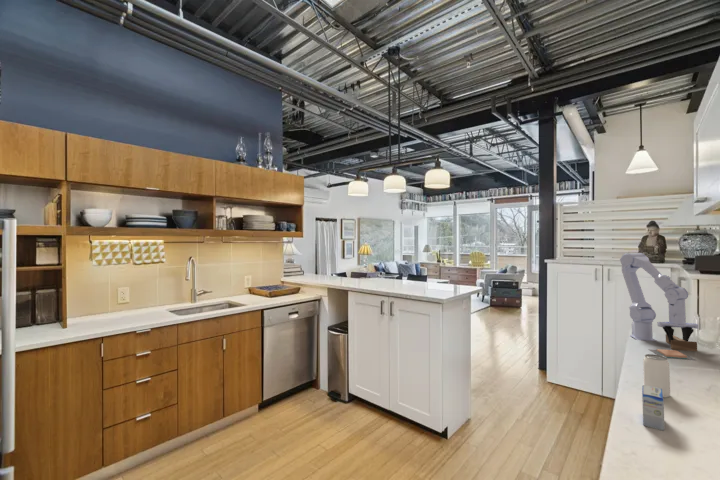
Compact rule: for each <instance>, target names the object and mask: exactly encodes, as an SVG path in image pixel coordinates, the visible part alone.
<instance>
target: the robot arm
mask: <svg viewBox="0 0 720 480" xmlns="http://www.w3.org/2000/svg"><path fill="white" fill-rule="evenodd" d="M619 261H620V263H621V272H622V273H621V274H622V276H623V279H624V281H625V285H626V289H627V291H628V293H629V296H630V301H631V305H630V306H629V307H628V308H629V316H630V319H631V320H632V323H631V334H629V336H630V337H631V338H633V339H635V340H637V341H652V342H655V341H656V342H657V340H656V339H655V338H654V337H653V336H654V335H653V322H654V320H655V319H656V318H657V317H656V316H657V314H656V311H655V310H654V309H653V307H652V304H649V303H648V302H647V300H646V298H645V296H644V292H643V290H642V287H641V284H640V281H639V279H638V275H637V271H638V270H639V269H640V268H642V269H643V271H645V272H646V273H647V274H649V275H650V276H651V277H652V278H654V283H655V284H656V286H658V287H659V288H660V289H661V290H662V291H663V292H664V297H665V298H666V299H667V303H668V321H657V324H656V325H657V327H660V328H662V329H663V331H664V332H665V335H666V334H667V337H668V339H669V342H670V343H671V340H673V335H674V332H675V329H674V328H680V329H681V334H682V339H683V340H685V341H690V340H689V339H690V337H691V335H692V334H693V333H694V329H699V323H692V322H687V320H686V317H687V316H686V315H687V313H686V299H688V298H689V291H688V290H687V289H686V288H685V287H682V286H681V287H680V285H678V284H676V282H675V281H673V280H672V279H671V277H670V276H669V275H667V274H662V273H661V272H660V271H659V270H658V268H657V267H655V265H653V263H652V262H651V261H650V258H649V257H648V256H646V254H645V253H643V252H637V253H636V252H635V253H634V252H633V253H632V252H631V253H630V252H626V253H624V254H622V256H621V257H620V258H619Z"/></svg>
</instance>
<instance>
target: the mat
mask: <svg viewBox="0 0 720 480" xmlns="http://www.w3.org/2000/svg"><path fill="white" fill-rule="evenodd" d="M648 351H650V352H652V353H654V355H659V356H663V355H661V354H660V353H658V352H657V349H651V348H649V349H648ZM677 351H678V352H680V353H682V354H684V355H686V356H687V359H682V358H668V357H666V358H667V359H668V360H669V359H671V360H684V361H685V360H687V361H696V358H693V357H691V356H689V355H687V354H685V353H684V352H682V351H681V350H677ZM663 357H665V356H663Z"/></svg>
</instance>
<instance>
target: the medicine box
mask: <svg viewBox="0 0 720 480" xmlns="http://www.w3.org/2000/svg"><path fill="white" fill-rule="evenodd" d="M641 392H642V393H641V394H642V395H641V396H642V397H641V398H642V400H641V401H642V425H643V426H644V427H648V428H652V429H656V430H659V431H665V399H664V398H663V391H662V389H660V388H656V387H652V386H646V385H644V384H643V385H642V391H641Z"/></svg>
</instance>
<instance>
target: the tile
mask: <svg viewBox="0 0 720 480" xmlns="http://www.w3.org/2000/svg"><path fill="white" fill-rule="evenodd" d="M656 350H657V352H658V353H660V354H661V355H663V356H665V357H668V358H667V359H669V358H682V359H681V360H683V359H687V356H688V355H687V354H685V353H683V352H681V351H680V352H681V353H680V352H678V351H679V350H672V349H661V348H656ZM682 353H683V354H682ZM684 354H685V355H684ZM686 355H687V356H686Z"/></svg>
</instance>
